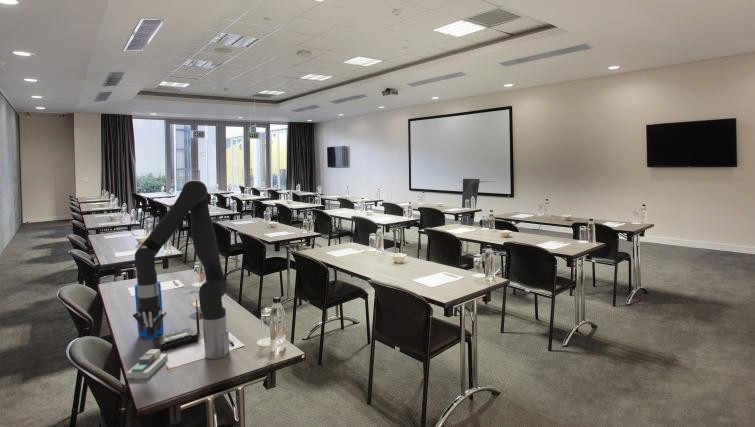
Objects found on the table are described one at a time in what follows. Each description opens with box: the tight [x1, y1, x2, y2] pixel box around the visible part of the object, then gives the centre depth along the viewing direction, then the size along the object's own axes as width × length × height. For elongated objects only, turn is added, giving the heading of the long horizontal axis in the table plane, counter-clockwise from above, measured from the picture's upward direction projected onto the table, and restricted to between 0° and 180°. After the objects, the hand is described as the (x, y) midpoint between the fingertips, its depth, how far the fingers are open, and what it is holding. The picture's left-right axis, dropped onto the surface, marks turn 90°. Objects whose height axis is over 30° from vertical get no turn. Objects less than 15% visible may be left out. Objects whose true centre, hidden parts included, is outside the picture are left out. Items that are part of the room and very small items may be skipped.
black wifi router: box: [152, 300, 201, 353], centre depth 197 cm, size 20×14×17 cm
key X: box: [138, 354, 154, 366], centre depth 172 cm, size 4×4×3 cm
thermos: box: [134, 280, 164, 340], centre depth 205 cm, size 11×11×25 cm
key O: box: [131, 363, 148, 372], centre depth 168 cm, size 4×4×3 cm
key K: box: [144, 348, 161, 360], centre depth 177 cm, size 4×4×3 cm
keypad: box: [126, 353, 169, 380], centre depth 173 cm, size 8×16×2 cm, turn 1°
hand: (151, 335), depth 176 cm, fingers closed
